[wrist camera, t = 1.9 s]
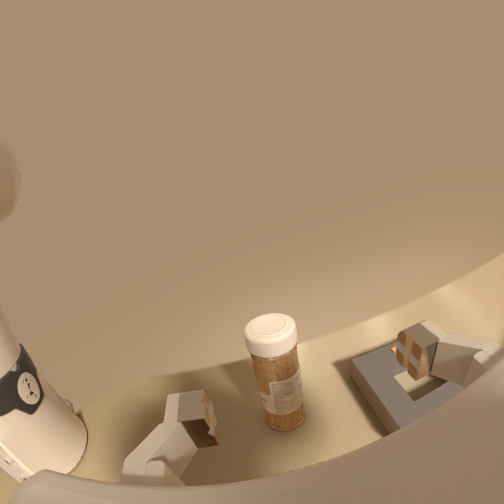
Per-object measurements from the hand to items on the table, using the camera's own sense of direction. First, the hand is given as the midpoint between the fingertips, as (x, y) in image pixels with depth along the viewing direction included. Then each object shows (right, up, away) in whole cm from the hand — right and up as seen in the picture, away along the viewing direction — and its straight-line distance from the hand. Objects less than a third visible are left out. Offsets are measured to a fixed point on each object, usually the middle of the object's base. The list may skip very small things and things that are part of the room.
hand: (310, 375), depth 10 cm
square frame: (+18, -11, +15) cm, 26 cm away
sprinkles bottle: (+2, -14, +17) cm, 22 cm away
